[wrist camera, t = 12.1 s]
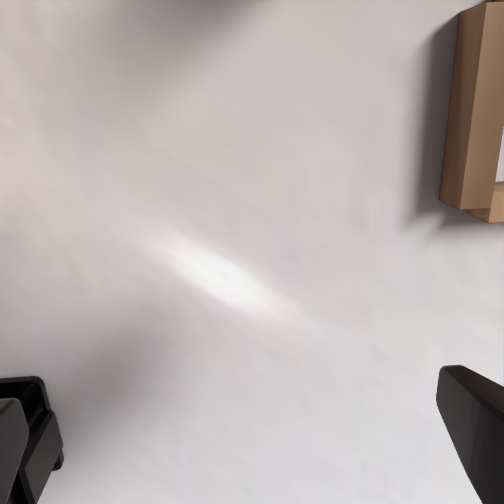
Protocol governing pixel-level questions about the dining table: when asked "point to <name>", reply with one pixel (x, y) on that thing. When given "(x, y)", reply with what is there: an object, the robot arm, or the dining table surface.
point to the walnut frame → (476, 115)
